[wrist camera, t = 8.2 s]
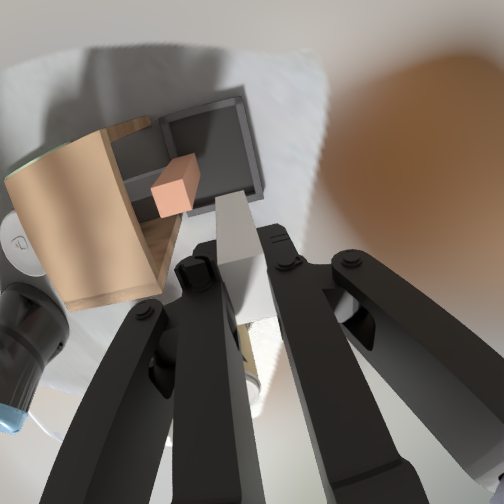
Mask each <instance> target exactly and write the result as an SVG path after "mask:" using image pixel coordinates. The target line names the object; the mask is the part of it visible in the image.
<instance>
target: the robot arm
mask: <svg viewBox="0 0 504 504" xmlns="http://www.w3.org/2000/svg"><path fill="white" fill-rule="evenodd" d="M215 206H216V239H215V240H211V241H208V242H204V243H200V244H198V245H197V246H196V247H195V249H194V250H193V255H192V256H189V257H187V258H185V259H183V260H181V261H180V262H179V263H178V264H177V265H176V267H175V269H174V271H175V273H176V276H177V278H178V280H179V283H180V285H181V288H182V290H183V291H182V297H180V298H179V299H177V300H175V301H174V302H172V303H169V304H167V305H165V306H163V305H162V303H161V302H160V301H158V300H156V299H148V300H144V301H142V302H139V303H138V304H136V305H135V306H134V307H132V309H131V310H130V311H129V312H128V314H127V316H126V317H125V319H124V321H123V323H122V324H121V326H120V328H119V330H118V332H117V333H116V335H115V337H114V339H113V341H112V342H111V344H110V346H109V348H108V350H107V352H106V354H105V355H104V357H103V359H102V361H101V363H100V365H99V367H98V369H97V371H96V373H95V375H94V377H93V379H92V381H91V383H90V385H89V387H88V389H87V391H86V393H85V395H84V397H83V399H82V401H81V403H80V405H79V407H78V409H77V412H76V414H75V416H74V418H73V420H72V422H71V425H70V427H69V429H68V431H67V434H66V436H65V438H64V440H63V443H62V445H61V447H60V450H59V452H58V455H57V457H56V460H55V462H54V465H53V467H52V470H51V472H50V475H49V477H48V480H47V483H46V486H45V488H44V491H43V494H42V497H41V500H40V502H39V504H149V501H150V497H151V493H152V490H153V486H154V482H155V479H156V475H157V472H158V468H159V464H160V461H161V457H162V454H163V450H164V447H165V443H166V440H167V437H168V433H169V430H170V426H171V423H172V420H173V444H172V484H173V498H172V502H171V504H266V502H265V497H264V491H263V485H262V479H261V473H260V468H259V461H258V455H257V449H256V442H255V436H254V430H253V423H252V417H251V410H250V404H249V397H248V390H247V384H246V377H245V370H244V363H243V355H242V348H241V341H240V335H239V332H238V329H237V326H236V321H237V324H238V325H241V324H246V323H250V322H254V321H258V320H262V319H267V318H271V317H275V316H277V317H278V322H279V327H280V331H281V336H282V340H283V341H284V345H285V348H286V352H287V355H288V359H289V363H290V366H291V370H292V373H293V377H294V380H295V384H296V388H297V392H298V395H299V399H300V403H301V406H302V410H303V414H304V417H305V421H306V425H307V428H308V432H309V436H310V439H311V443H312V447H313V450H314V454H315V458H316V462H317V465H318V469H319V473H320V477H321V480H322V484H323V488H324V492H325V495H326V499H327V504H429V501H428V499H427V496H426V494H425V491H424V488H423V486H422V483H421V481H420V478H419V476H418V474H417V472H416V470H415V468H414V467H413V466H412V464H411V463H410V462H409V461H407V460H406V459H404V458H402V457H401V456H400V454H399V453H398V451H397V449H396V447H395V445H394V442H393V440H392V437H391V435H390V433H389V430H388V428H387V426H386V423H385V421H384V419H383V417H382V414H381V412H380V410H379V408H378V405H377V403H376V401H375V398H374V396H373V394H372V392H371V390H370V387H369V385H368V383H367V381H366V379H365V377H364V375H363V372H362V370H361V368H360V366H359V364H358V362H357V359H356V357H355V355H354V353H353V351H352V349H351V347H350V345H349V343H348V341H347V339H348V340H349V341H350V342H351V343H352V344H353V346H354V347H355V348H356V349H357V350H358V351H359V352H360V353H361V354H362V355H363V357H364V358H365V359H366V360H367V361H368V362H369V363H370V364H371V365H372V366H373V368H374V369H375V370H376V371H377V372H378V373H379V374H380V375H381V377H382V378H383V379H384V380H385V381H386V382H387V383H388V384H389V385H390V387H391V388H392V389H393V390H394V391H395V392H396V393H397V395H398V396H399V397H400V398H401V399H402V400H403V401H404V402H405V403H406V405H407V406H408V407H409V408H410V409H411V410H412V411H413V413H414V414H415V415H416V416H417V417H418V418H419V419H420V420H421V421H422V423H423V424H424V425H425V426H426V427H427V428H428V430H429V431H430V432H431V433H432V434H433V435H434V436H435V438H436V439H437V440H438V441H439V442H440V443H441V444H442V446H443V447H444V448H445V449H446V450H447V451H448V452H449V453H450V455H451V456H452V457H453V458H454V459H455V460H456V462H457V463H458V464H459V465H460V466H461V467H462V469H463V470H464V471H465V472H466V473H467V474H468V475H469V476H470V477H471V478H472V479H473V480H474V481H476V482H477V483H478V484H480V485H481V486H482V487H484V488H485V489H487V490H489V491H491V492H493V493H495V494H494V496H493V497H492V498H491V500H490V502H489V504H504V358H503V357H502V356H501V355H499V354H498V353H497V352H496V351H495V350H494V349H492V348H491V347H490V346H489V345H487V343H485V342H484V341H483V340H482V339H481V338H479V337H478V336H477V335H476V334H475V333H473V332H472V331H471V330H470V329H468V328H467V327H466V326H465V325H463V324H462V323H461V322H460V321H458V320H457V319H456V318H455V317H453V316H452V315H451V314H450V313H448V312H447V311H446V310H445V309H443V308H442V307H440V306H439V305H438V304H436V303H435V302H434V301H433V300H431V299H430V298H429V297H427V296H426V295H425V294H424V293H422V292H421V291H419V290H418V289H417V288H415V287H414V286H413V285H411V284H410V283H409V282H407V281H406V280H405V279H403V278H402V277H400V276H399V275H398V274H396V273H395V272H393V271H392V270H391V269H389V268H388V267H386V266H385V265H384V264H382V263H381V262H379V261H378V260H376V259H375V258H373V257H372V256H371V255H369V254H367V253H365V252H364V251H361V250H355V249H351V250H344V251H341V252H339V253H337V254H335V255H334V256H333V258H332V260H331V262H332V263H331V264H311V263H308V262H307V260H306V259H305V258H304V257H303V256H301V255H299V254H298V252H297V250H296V248H295V246H294V244H293V242H292V241H291V239H290V237H289V235H288V233H287V231H286V229H285V227H283V226H281V225H279V224H278V223H277V224H273V225H268V226H264V227H260V228H256V227H255V224H254V221H253V218H252V215H251V212H250V208H249V205H248V202H247V199H246V196H245V193H244V190H242V191H238V192H234V193H230V194H226V195H222V196H218V197H215ZM68 337H69V327H68V324H67V321H66V319H65V317H64V315H63V313H62V312H61V310H60V309H59V308H58V306H57V305H56V304H55V303H54V302H53V301H52V300H51V299H50V298H49V297H48V296H47V295H45V294H44V293H43V292H41V291H40V290H38V289H36V288H35V287H33V286H30V285H28V284H24V283H13V284H10V285H9V286H8V287H7V288H6V289H5V290H4V292H3V293H2V294H1V296H0V431H1V432H4V433H7V434H17V433H19V432H20V430H21V428H22V426H23V424H24V421H25V419H26V417H27V416H28V411H29V408H30V405H31V402H32V399H33V396H34V394H35V391H36V388H37V386H38V383H39V380H40V378H41V375H42V373H43V370H44V368H45V366H46V365H47V364H48V363H49V362H50V361H51V360H53V359H54V358H55V357H56V356H57V355H58V354H59V353H60V352H61V351H62V350H63V348H64V347H65V344H66V342H67V340H68ZM346 338H347V339H346ZM151 359H152V360H151Z"/></svg>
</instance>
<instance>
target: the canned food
mask: <svg viewBox="0 0 504 504" xmlns="http://www.w3.org/2000/svg"><path fill="white" fill-rule="evenodd" d="M0 242H1V246H2V249H3V251H4V253H5V255H6V257H7V258H8V260H9V261H10V262H11V264H12V265H13V266H14V267H15V268H17V269H18V270H19V271H21V272H22V273H24V274H27V275H29V276H43V275H45V274H46V272H45V271H44V269H43V267H42V265H41V263H40V261H39V259H38V258H37V256H36V254H35V252H34V250H33V248H32V246H31V244H30V242H29V240H28V238H27V236H26V233H25V231H24V229H23V227H22V225H21V223H20V220H19V218H18V216H17V213H16V211H15V209H13V210H12V211H10V212H9V213H8V214H7V215H6V216H5V218H4V219H3V221H2V223H1V226H0Z"/></svg>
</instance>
